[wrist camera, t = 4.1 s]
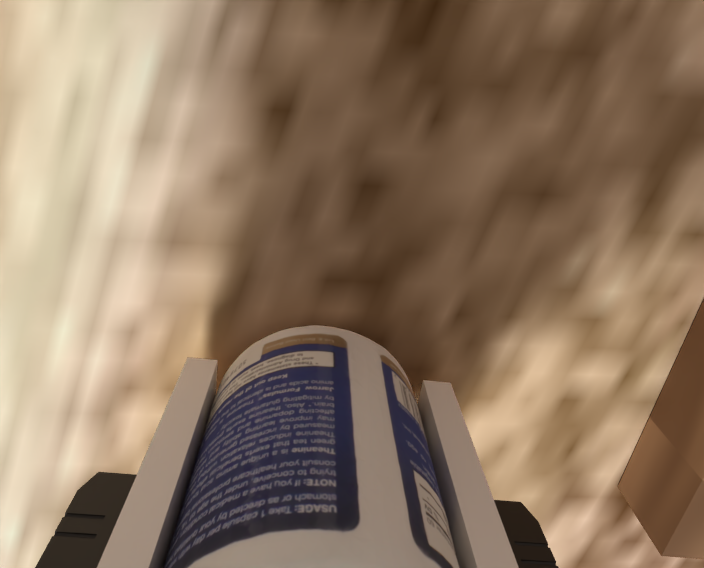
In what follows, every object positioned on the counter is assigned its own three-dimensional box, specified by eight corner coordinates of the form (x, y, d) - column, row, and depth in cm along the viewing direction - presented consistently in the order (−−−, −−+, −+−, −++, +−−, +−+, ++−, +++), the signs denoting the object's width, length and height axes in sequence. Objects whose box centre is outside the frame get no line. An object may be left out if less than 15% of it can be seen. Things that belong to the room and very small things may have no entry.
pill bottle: (190, 447, 15) (1, 1019, 6) (258, 288, 13) (124, 789, 4) (363, 500, 16) (409, 1049, 7) (449, 361, 14) (648, 878, 6)
